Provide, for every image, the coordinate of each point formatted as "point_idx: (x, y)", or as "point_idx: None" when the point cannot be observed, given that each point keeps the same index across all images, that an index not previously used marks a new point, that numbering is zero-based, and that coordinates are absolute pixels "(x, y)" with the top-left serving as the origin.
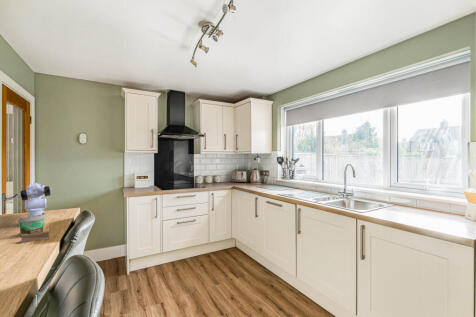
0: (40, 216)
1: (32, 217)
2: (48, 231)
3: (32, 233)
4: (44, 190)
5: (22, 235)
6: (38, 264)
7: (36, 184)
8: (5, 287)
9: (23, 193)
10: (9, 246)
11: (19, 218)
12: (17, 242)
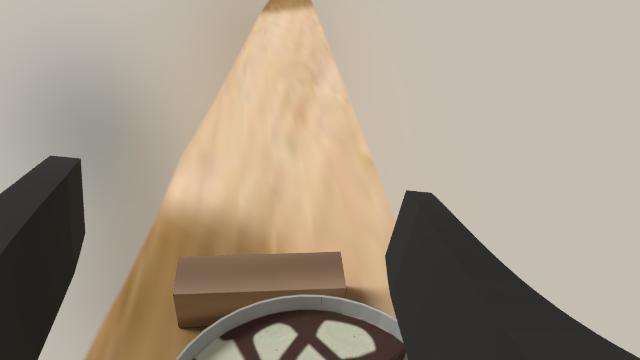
0: (211, 331)
1: (287, 298)
2: (176, 280)
3: None
4: (31, 202)
5: (339, 279)
6: (252, 56)
7: None
8: (313, 10)
9: (528, 287)
10: None
11: None
12: None
